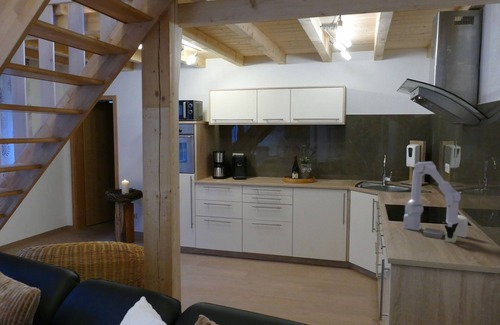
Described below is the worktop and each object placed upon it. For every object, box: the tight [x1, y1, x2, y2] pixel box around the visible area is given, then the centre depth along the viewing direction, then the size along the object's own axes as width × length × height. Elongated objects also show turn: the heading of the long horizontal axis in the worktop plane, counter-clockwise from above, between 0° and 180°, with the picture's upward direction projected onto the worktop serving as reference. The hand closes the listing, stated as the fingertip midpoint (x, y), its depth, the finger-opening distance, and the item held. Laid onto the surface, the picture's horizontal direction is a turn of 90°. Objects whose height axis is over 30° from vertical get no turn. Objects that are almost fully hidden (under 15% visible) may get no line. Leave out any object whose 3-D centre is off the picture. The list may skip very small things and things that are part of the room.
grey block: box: [422, 227, 445, 239], centre depth 227 cm, size 10×10×3 cm
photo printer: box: [455, 214, 469, 238], centre depth 226 cm, size 10×4×12 cm, turn 29°
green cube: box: [444, 230, 458, 244], centre depth 217 cm, size 5×5×5 cm
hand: (451, 236), depth 216 cm, fingers open, 7 cm apart
